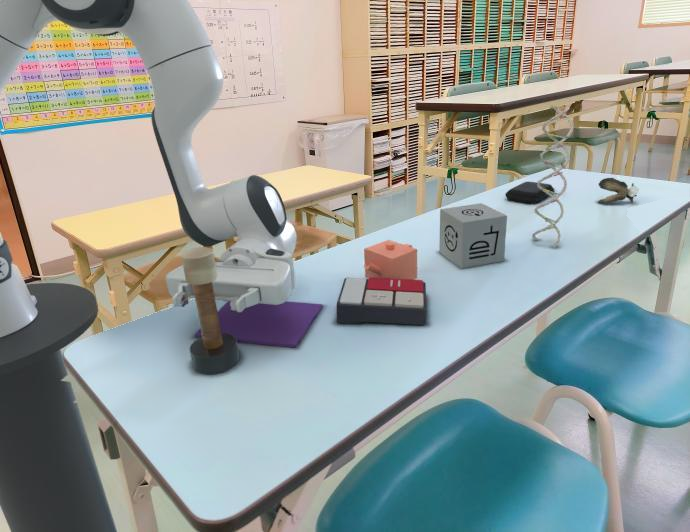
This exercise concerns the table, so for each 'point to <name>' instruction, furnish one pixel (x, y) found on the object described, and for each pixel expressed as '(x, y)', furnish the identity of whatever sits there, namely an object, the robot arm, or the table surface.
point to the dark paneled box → (382, 301)
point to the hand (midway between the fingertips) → (205, 305)
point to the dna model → (554, 173)
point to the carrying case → (528, 192)
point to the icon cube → (472, 235)
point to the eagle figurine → (617, 190)
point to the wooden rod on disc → (208, 315)
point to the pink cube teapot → (390, 261)
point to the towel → (268, 323)
